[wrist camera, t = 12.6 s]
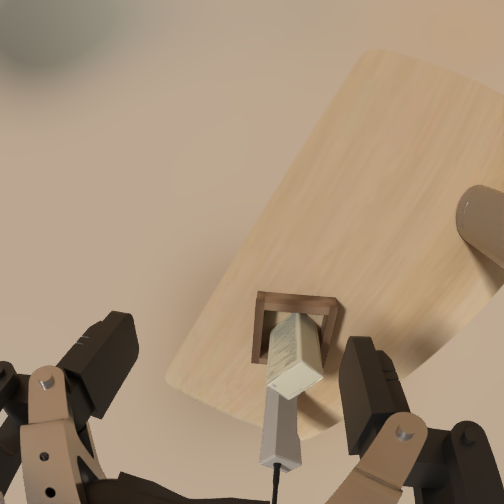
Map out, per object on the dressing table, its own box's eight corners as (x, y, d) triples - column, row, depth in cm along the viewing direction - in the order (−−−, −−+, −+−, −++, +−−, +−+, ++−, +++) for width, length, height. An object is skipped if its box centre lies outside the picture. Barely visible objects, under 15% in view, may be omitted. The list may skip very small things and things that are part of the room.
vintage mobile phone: (288, 398, 51) (282, 518, 28) (266, 387, 50) (253, 511, 27) (301, 387, 50) (301, 512, 26) (279, 376, 49) (270, 506, 26)
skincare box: (288, 345, 46) (287, 401, 35) (268, 329, 45) (263, 385, 34) (318, 322, 44) (325, 378, 33) (298, 305, 43) (301, 360, 32)
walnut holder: (335, 297, 42) (338, 308, 39) (321, 356, 46) (323, 368, 44) (257, 291, 43) (255, 301, 40) (253, 350, 47) (251, 362, 45)
